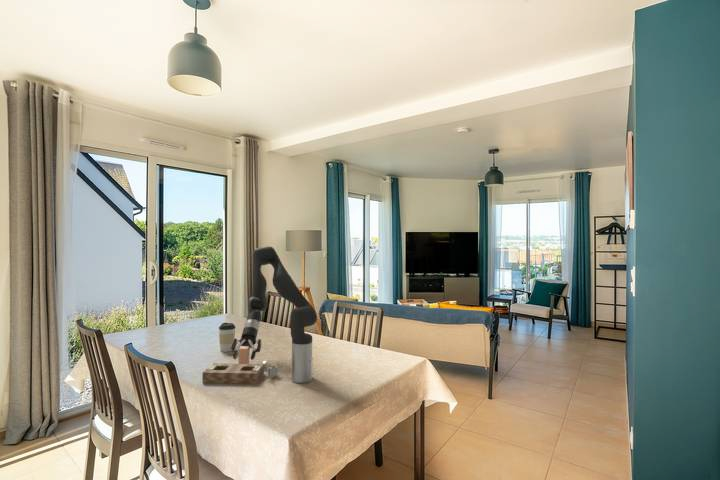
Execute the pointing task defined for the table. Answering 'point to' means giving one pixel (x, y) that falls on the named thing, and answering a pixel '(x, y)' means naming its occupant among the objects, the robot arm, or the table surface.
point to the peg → (244, 354)
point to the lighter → (271, 370)
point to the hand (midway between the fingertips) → (243, 358)
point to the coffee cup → (226, 336)
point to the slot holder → (233, 373)
